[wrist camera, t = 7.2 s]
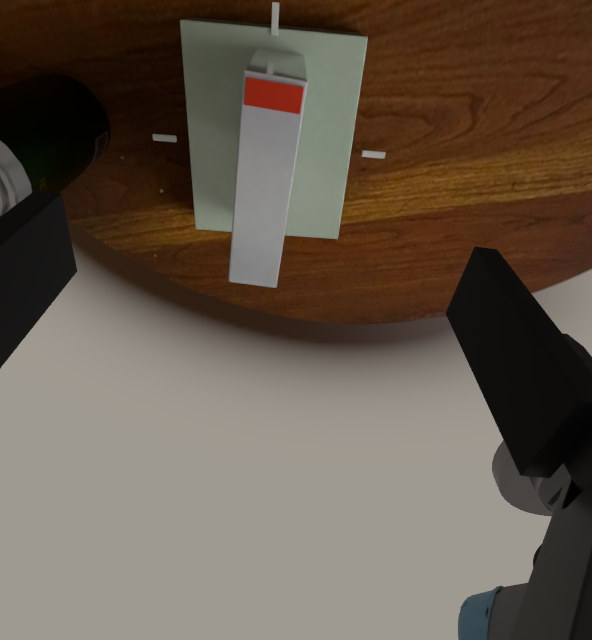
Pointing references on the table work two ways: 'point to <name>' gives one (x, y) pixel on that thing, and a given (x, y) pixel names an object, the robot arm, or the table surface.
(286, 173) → the red-tipped leaning gray slab
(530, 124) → the table surface
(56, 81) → the beer can
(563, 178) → the table surface
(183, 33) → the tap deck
